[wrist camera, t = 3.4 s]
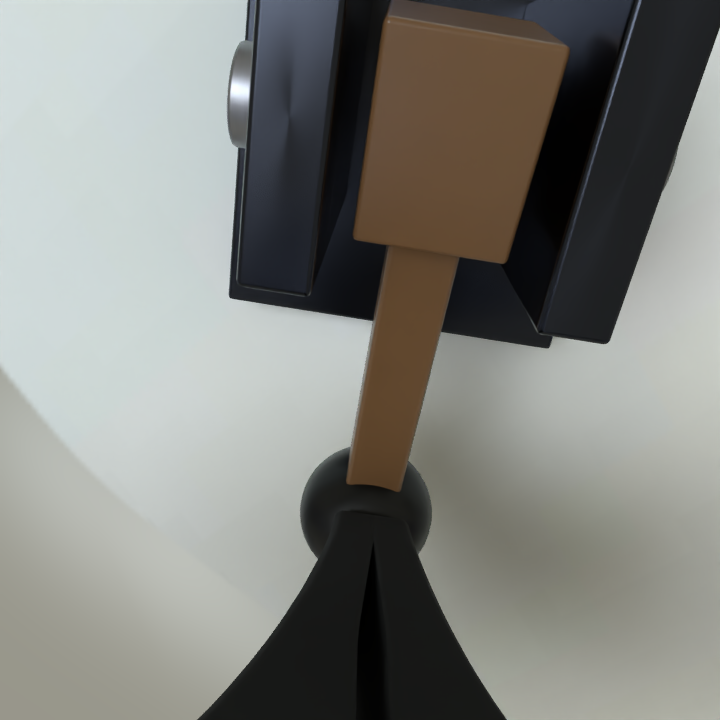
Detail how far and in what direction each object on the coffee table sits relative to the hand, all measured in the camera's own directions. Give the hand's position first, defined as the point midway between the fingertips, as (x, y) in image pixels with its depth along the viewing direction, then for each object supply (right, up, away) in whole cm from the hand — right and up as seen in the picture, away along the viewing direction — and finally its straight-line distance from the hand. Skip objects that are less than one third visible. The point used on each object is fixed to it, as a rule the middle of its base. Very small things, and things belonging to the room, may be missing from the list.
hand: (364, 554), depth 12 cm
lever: (+1, +5, 0) cm, 5 cm away
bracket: (+1, +10, +2) cm, 10 cm away
